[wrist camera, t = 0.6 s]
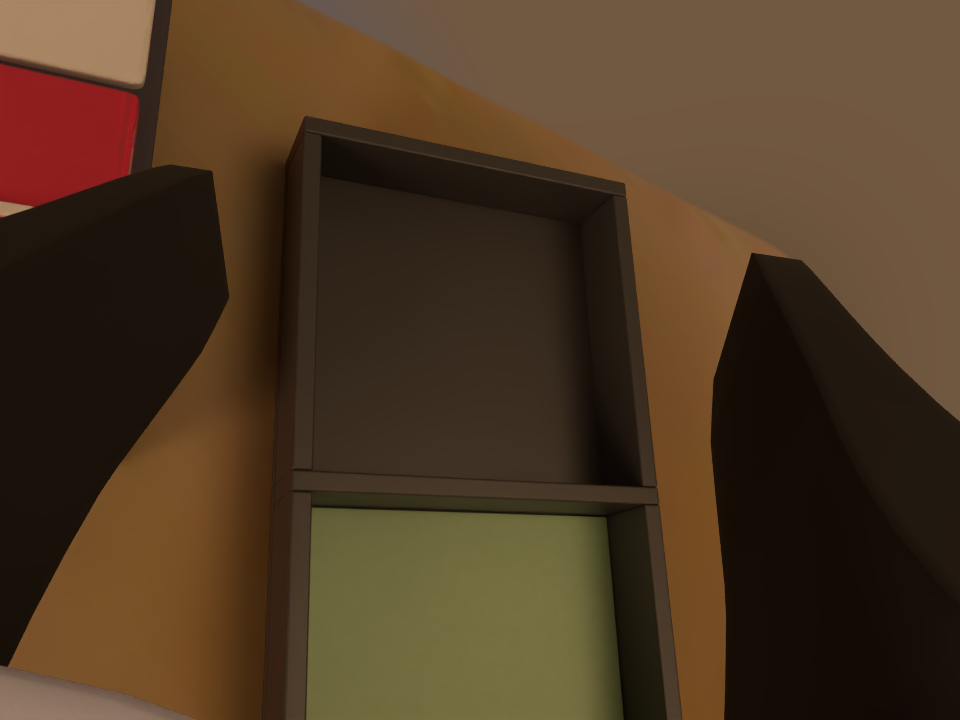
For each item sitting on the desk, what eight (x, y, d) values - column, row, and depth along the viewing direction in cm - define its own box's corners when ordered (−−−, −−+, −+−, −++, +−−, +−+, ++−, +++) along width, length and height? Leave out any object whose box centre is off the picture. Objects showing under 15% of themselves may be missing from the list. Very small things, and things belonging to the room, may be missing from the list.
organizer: (644, 886, 27) (703, 909, 25) (251, 952, 22) (274, 988, 20) (585, 219, 35) (625, 182, 32) (285, 162, 30) (304, 114, 28)
